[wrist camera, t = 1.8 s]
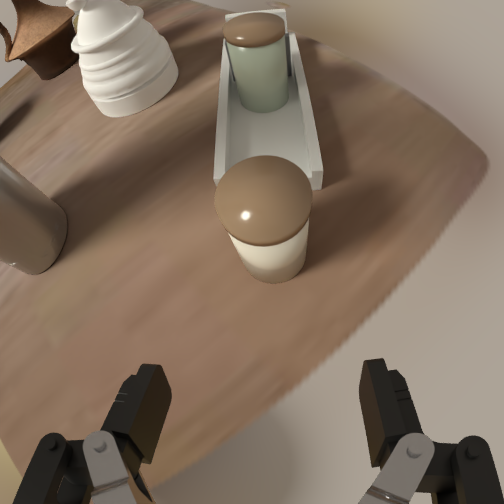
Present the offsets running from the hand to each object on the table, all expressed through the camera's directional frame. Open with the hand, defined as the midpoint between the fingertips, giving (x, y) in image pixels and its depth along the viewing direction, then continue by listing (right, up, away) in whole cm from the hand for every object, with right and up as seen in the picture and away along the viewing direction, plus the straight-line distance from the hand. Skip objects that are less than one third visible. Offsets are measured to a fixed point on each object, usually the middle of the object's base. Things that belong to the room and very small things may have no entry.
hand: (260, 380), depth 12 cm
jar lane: (+1, +22, +22) cm, 31 cm away
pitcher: (-40, +44, +37) cm, 70 cm away
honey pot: (-17, +29, +27) cm, 43 cm away
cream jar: (+2, +5, +16) cm, 17 cm away
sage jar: (+1, +23, +21) cm, 31 cm away
